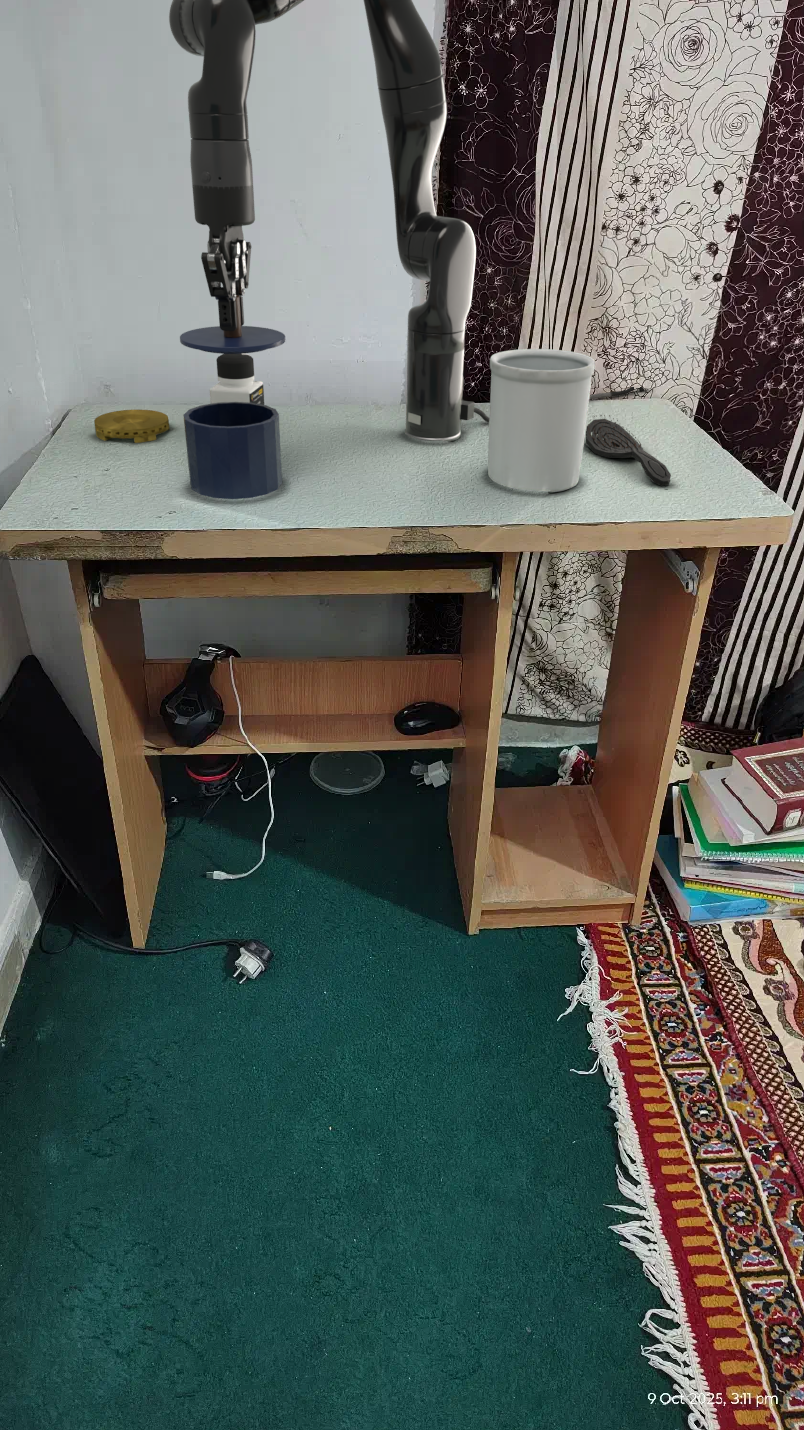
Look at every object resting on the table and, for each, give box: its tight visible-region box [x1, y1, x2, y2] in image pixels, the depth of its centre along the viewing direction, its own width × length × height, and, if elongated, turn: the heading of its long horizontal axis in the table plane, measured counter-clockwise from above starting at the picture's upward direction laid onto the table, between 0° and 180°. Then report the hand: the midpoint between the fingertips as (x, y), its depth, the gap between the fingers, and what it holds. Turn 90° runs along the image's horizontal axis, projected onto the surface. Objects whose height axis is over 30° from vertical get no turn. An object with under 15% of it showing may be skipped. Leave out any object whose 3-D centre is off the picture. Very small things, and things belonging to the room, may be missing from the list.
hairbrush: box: [585, 414, 672, 488], centre depth 156 cm, size 8×4×25 cm
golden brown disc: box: [93, 409, 170, 444], centre depth 165 cm, size 12×12×2 cm
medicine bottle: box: [209, 353, 265, 405], centre depth 165 cm, size 7×7×12 cm
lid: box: [179, 295, 286, 355], centre depth 131 cm, size 14×14×6 cm
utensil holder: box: [487, 348, 596, 494], centre depth 144 cm, size 15×15×18 cm
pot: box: [182, 402, 283, 500], centre depth 141 cm, size 13×13×10 cm
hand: (232, 327), depth 132 cm, fingers closed on lid, 2 cm apart
